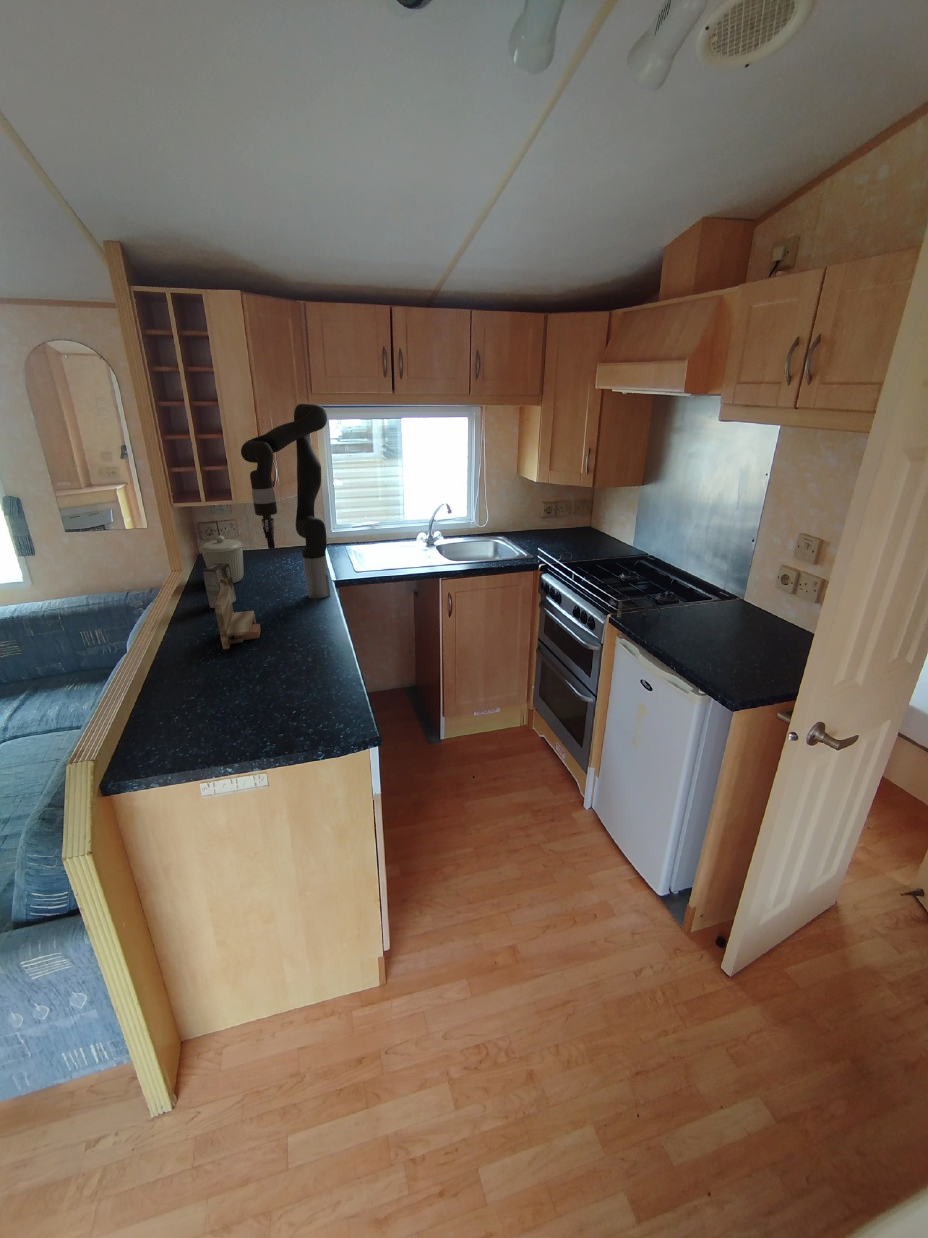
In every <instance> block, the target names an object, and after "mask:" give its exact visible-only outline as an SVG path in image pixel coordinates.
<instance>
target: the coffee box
mask: <svg viewBox="0 0 928 1238" xmlns="http://www.w3.org/2000/svg"><path fill="white" fill-rule="evenodd" d="M201 572H202V575H203V576H202V577H203V581H204V585H205V586H204V587H205V590H206V594H207V599H208V604H209V608H212V609H215V607H214V604H215V602H216V600H217V597H218V595H219V593H220V591H221V589H222V586H229V590H230V596H231V601H232V604H233V603H234V602H236V601H237V597H236V592H235V586H234V583H233V581H232V576H231V571H230V566H229V564H222V563H215V564H213V565H211V566H209V567H207V566H206V567H205V568H203V569H202V570H201Z"/></svg>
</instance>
